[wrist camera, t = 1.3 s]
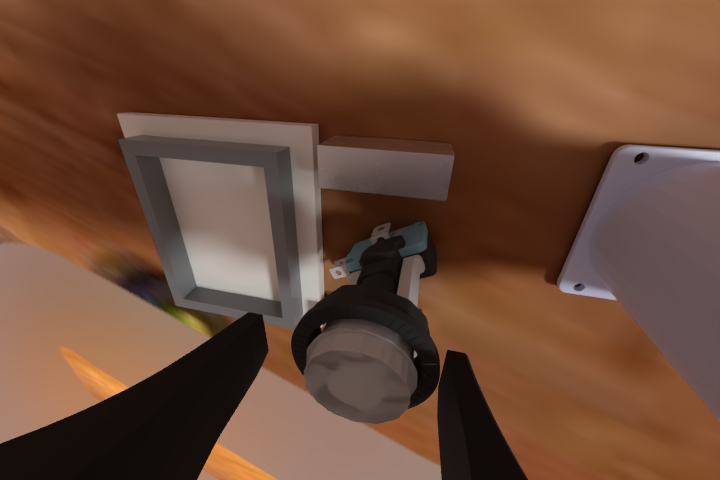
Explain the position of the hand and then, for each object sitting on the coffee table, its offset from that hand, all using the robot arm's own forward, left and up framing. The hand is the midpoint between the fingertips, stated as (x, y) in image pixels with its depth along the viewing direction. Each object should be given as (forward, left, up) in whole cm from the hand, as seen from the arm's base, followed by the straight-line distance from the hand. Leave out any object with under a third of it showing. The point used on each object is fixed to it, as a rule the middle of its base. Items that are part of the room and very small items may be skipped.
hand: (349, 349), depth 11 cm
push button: (0, 0, -8) cm, 8 cm away
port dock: (+10, 0, -8) cm, 13 cm away
